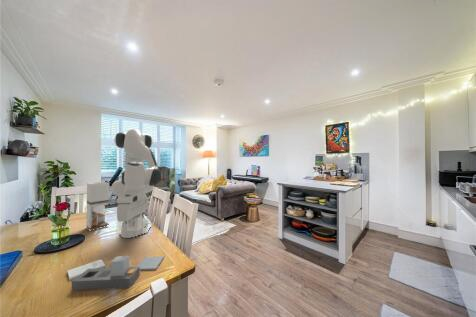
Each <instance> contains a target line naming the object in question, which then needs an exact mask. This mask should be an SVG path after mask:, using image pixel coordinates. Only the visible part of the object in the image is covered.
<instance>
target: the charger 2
mask: <svg viewBox="0 0 476 317" xmlns="http://www.w3.org/2000/svg"><path fill="white" fill-rule="evenodd" d="M133 222H134V226H133V227H129V226H128V222H127V231H129V235H137V234H138V233H139V230H140V229H141V228H142V215H136V216H135V217H133Z"/></svg>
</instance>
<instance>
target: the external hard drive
mask: <svg viewBox="0 0 476 317" xmlns="http://www.w3.org/2000/svg"><path fill="white" fill-rule="evenodd" d="M96 268H106V264H105V263H104V261H103V260H102V259H98V260H94V261H92V262H89V263H86V264H83V265H81V266H80V265H79V266H77V267H74V268H72V269H68V270H67V272H66V273H67V277H68V280H69V281H73V280H74V279H76V278H77V277H78V276H80V275H81V274H82V273H83V272H85V271H86V270H87V269H96Z"/></svg>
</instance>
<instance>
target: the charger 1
mask: <svg viewBox="0 0 476 317" xmlns="http://www.w3.org/2000/svg"><path fill="white" fill-rule="evenodd" d="M129 267H130V255H121V256H119V255H118V256H116V257H114V259H113V260H111V261H110V268H111V276H124V275H125V274H126V273H127V271H128V270H129Z"/></svg>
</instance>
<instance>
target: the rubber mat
mask: <svg viewBox="0 0 476 317" xmlns="http://www.w3.org/2000/svg"><path fill="white" fill-rule="evenodd" d="M164 258H165V256H144V257H143V258H142V259H141V260H140V262H139V263H138V264H136V266H135V267H140V272H141V271H156V270H157V269H158V268H159V266H160V265H161V263H162V262H163V260H164Z"/></svg>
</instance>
